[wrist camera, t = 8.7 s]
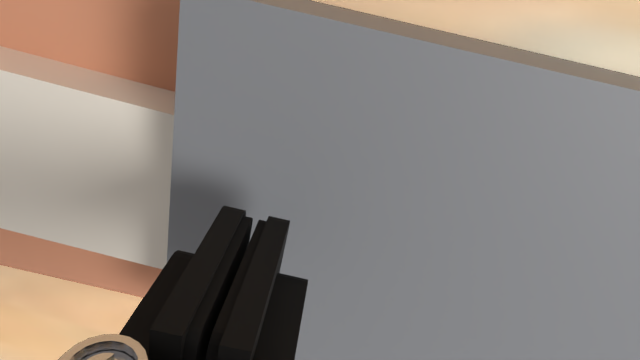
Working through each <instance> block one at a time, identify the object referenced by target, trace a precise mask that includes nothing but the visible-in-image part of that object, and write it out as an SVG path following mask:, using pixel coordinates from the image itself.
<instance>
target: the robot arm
mask: <svg viewBox="0 0 640 360" xmlns="http://www.w3.org/2000/svg"><path fill="white" fill-rule="evenodd" d="M252 222H253V218H251V217H246V210H242V209H237V208H233V207H229V206H223V207H222V208H221V210H220V212H219V213H218V215H217V217H216V218H215V220H214V222H213V223H212V225H211V227H210V228H209V230H208V232H207V233H206V235H205V237H204V239H203V240H202V242H201V244H200V245H199V247H198V249H197V250H196V252H195V254H194V253H189V252H185V251H180V250H177V251H175V252H174V254H173V255H172V256H171V258H170V259H169V261H168V262H167V263H166V265H165V266H164V268H163V269H162V271H161V272H160V274H159V275H158V277H157V278H156V280H155V281H154V283H153V284H152V286H151V287H150V289H149V290H148V292H147V293H146V295H145V296H144V298H143V299H142V301H141V302H140V304H139V305H138V307H137V308H136V310H135V311H134V313H133V314H132V316H131V317H130V319H129V320H128V322H127V323H126V325H125V326H124V328H123V329H122V331H121V332H120V334H103V335H99V336H95V337H91V338H88V339H86V340H84V341H82V342H80V343H78V344H76V345H74V346H73V347H72V348H71V349H69V350H68V351H67V352H65V353H64V354H63V355H62V356H61V357H60V358H59V359H58V360H295V354H296V348H297V342H298V337H299V331H300V325H301V320H302V314H303V308H304V302H305V297H306V291H307V285H308V279H303V278H299V277H295V276H290V275H286V274H281V273H279V272H280V268H281V263H282V258H283V253H284V249H285V244H286V239H287V235H288V230H289V225H290V220H285V219H281V218H277V217H272V216H269V217H268V219H267V221H264V220H259V221H258V223H257V225H256V228H255V230H254V232H253V235H252V237H251V240H250V235H251V229H252ZM249 241H250V242H249Z"/></svg>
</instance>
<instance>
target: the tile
mask: <svg viewBox="0 0 640 360" xmlns="http://www.w3.org/2000/svg"><path fill="white" fill-rule="evenodd" d="M174 109H175V92H174V91H170V90H166V89H162V88H158V87H154V86H151V85H147V84H143V83H139V82H135V81H132V80H128V79H124V78H120V77H116V76H113V75H109V74H105V73H101V72H97V71H94V70H90V69H86V68H82V67H78V66H74V65H71V64H67V63H63V62H59V61H55V60H52V59H48V58H44V57H40V56H36V55H33V54H29V53H25V52H21V51H17V50H13V49H10V48H6V47H2V46H0V228H2V229H6V230H10V231H14V232H18V233H22V234H25V235H29V236H33V237H37V238H41V239H45V240H49V241H53V242H57V243H61V244H65V245H69V246H73V247H76V248H80V249H84V250H88V251H92V252H96V253H100V254H104V255H108V256H112V257H116V258H120V259H124V260H127V261H131V262H135V263H139V264H143V265H147V266H151V267H155V268H159V269H163V268H164V266H165V265H166V263H167V247H168V228H169V208H170V188H171V168H172V149H173V129H174Z"/></svg>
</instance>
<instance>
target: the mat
mask: <svg viewBox="0 0 640 360" xmlns="http://www.w3.org/2000/svg"><path fill="white" fill-rule="evenodd" d="M179 11H180V0H0V46H2V47H6V48H10V49H13V50H17V51H21V52H25V53H29V54H33V55H36V56H40V57H44V58H48V59H52V60H55V61H59V62H63V63H67V64H71V65H74V66H78V67H82V68H86V69H90V70H94V71H97V72H101V73H105V74H109V75H113V76H116V77H120V78H124V79H128V80H132V81H135V82H139V83H143V84H147V85H151V86H154V87H158V88H162V89H166V90H170V91H174V92H175V90H176V70H177V50H178V30H179ZM0 265H4V266H8V267H13V268H17V269H21V270H26V271H30V272H34V273H39V274H43V275H47V276H52V277H56V278H60V279H65V280H69V281H73V282H78V283H82V284H87V285H91V286H95V287H100V288H104V289H108V290H113V291H117V292H121V293H126V294H130V295H134V296H139V297H143V298H144V296H145V295H146V293H147V292H148V290H149V289H150V287H151V286H152V284H153V283H154V281H155V280H156V278H157V277H158V275H159V274H160V272H161V271H162V269H159V268H155V267H151V266H147V265H143V264H139V263H135V262H131V261H127V260H124V259H120V258H116V257H112V256H108V255H104V254H100V253H96V252H92V251H88V250H84V249H80V248H76V247H73V246H69V245H65V244H61V243H57V242H53V241H49V240H45V239H41V238H37V237H33V236H29V235H25V234H22V233H18V232H14V231H10V230H6V229H2V228H0Z"/></svg>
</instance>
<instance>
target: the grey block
mask: <svg viewBox="0 0 640 360" xmlns="http://www.w3.org/2000/svg"><path fill="white" fill-rule="evenodd" d="M223 206H229V207H233V208H237V209H242V210H246V217H251V218H253V222H252V229H251V235H250V240H251V237H252V235H253V232H254V230H255V228H256V225H257V223H258V221H259V220H264V221H267V219H268V217H269V216H272V217H277V218H281V219H285V220H290V225H289V230H288V235H287V239H286V244H285V249H284V253H283V258H282V263H281V268H280V272H279V273H281V274H286V275H290V276H295V277H299V278H303V279H308V285H307V291H306V297H305V302H304V308H303V314H302V320H301V325H300V331H299V337H298V342H297V348H296V354H295V360H640V77H637V76H633V75H629V74H624V73H620V72H616V71H611V70H607V69H603V68H598V67H594V66H590V65H586V64H581V63H577V62H573V61H568V60H564V59H560V58H556V57H551V56H547V55H543V54H538V53H534V52H530V51H525V50H521V49H517V48H513V47H508V46H504V45H500V44H495V43H491V42H487V41H483V40H478V39H474V38H470V37H465V36H461V35H457V34H452V33H448V32H444V31H440V30H435V29H431V28H427V27H422V26H418V25H414V24H409V23H405V22H401V21H397V20H392V19H388V18H384V17H379V16H375V15H371V14H367V13H362V12H358V11H354V10H349V9H345V8H341V7H336V6H332V5H328V4H324V3H319V2H315V1H311V0H180V11H179V30H178V50H177V70H176V90H175V109H174V129H173V149H172V168H171V188H170V208H169V228H168V247H167V262H168V261H169V259H170V258H171V256H172V255H173V254H174V252H175V251H177V250H180V251H185V252H189V253H194V254H195V252H196V250H197V249H198V247H199V245H200V244H201V242H202V240H203V239H204V237H205V235H206V233H207V232H208V230H209V228H210V227H211V225H212V223H213V222H214V220H215V218H216V217H217V215H218V213H219V212H220V210H221V208H222V207H223ZM249 242H250V241H249Z"/></svg>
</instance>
